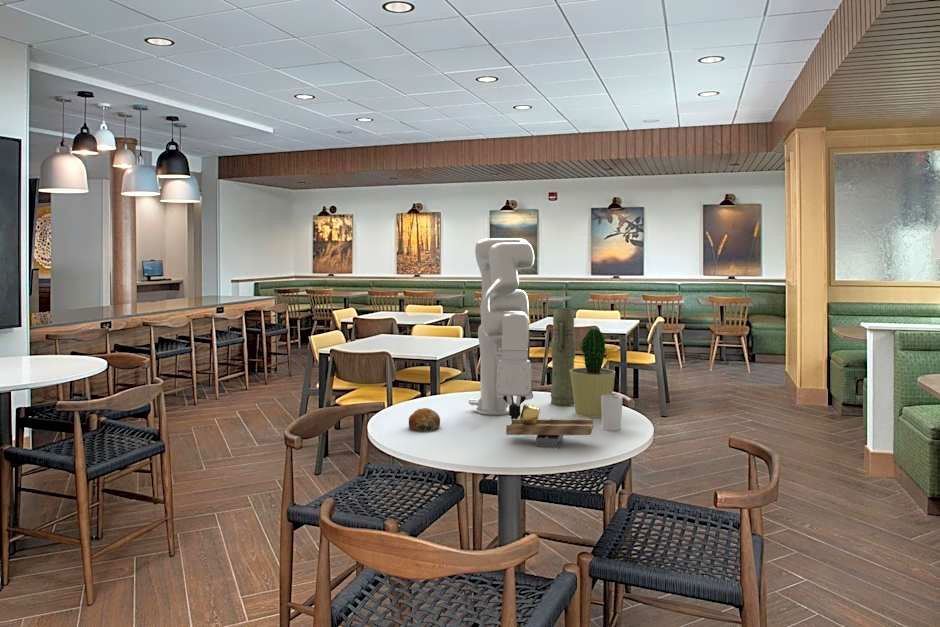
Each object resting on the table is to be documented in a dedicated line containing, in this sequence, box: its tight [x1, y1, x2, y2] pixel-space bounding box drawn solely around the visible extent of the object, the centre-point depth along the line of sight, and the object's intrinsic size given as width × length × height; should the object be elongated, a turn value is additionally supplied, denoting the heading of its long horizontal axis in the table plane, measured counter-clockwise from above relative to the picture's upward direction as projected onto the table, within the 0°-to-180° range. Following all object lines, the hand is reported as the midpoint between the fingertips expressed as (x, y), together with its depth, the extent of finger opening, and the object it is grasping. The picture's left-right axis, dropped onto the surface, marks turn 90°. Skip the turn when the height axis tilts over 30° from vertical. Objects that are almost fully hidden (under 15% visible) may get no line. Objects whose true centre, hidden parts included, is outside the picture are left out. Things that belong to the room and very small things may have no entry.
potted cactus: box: [570, 327, 616, 418], centre depth 243 cm, size 15×15×30 cm
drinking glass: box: [601, 394, 624, 431], centre depth 222 cm, size 7×7×10 cm
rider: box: [519, 403, 541, 425], centre depth 206 cm, size 5×5×5 cm
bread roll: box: [408, 407, 441, 432], centre depth 224 cm, size 10×10×8 cm
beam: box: [505, 418, 594, 436], centre depth 205 cm, size 24×9×3 cm, turn 75°
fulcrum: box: [535, 435, 564, 449], centre depth 206 cm, size 6×12×3 cm, turn 165°
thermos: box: [550, 307, 577, 406], centre depth 260 cm, size 9×12×35 cm
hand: (514, 418), depth 207 cm, fingers closed
